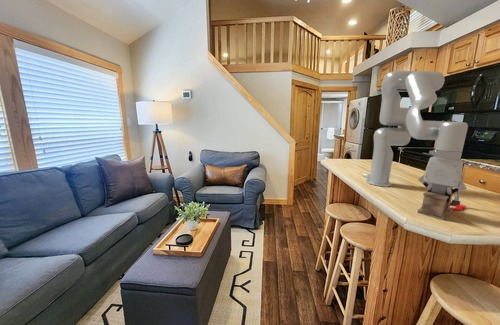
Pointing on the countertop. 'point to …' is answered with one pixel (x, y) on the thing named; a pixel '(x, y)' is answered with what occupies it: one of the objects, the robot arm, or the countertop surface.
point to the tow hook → (457, 202)
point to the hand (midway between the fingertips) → (437, 200)
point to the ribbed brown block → (435, 205)
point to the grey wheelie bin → (439, 189)
